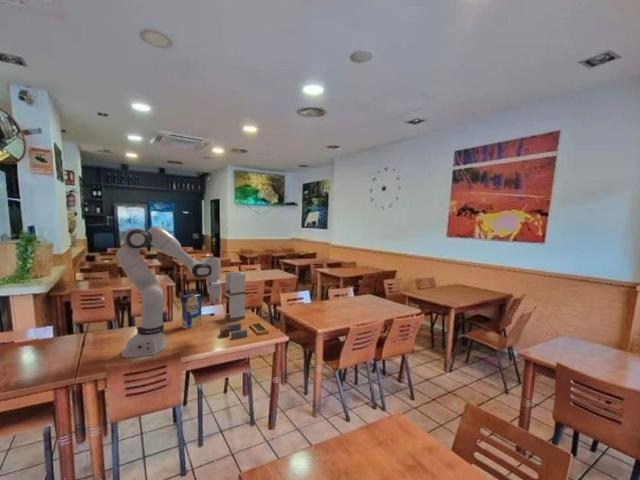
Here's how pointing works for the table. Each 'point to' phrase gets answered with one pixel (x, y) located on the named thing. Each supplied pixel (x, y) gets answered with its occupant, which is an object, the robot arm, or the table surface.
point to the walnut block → (224, 331)
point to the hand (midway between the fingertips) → (213, 302)
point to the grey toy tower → (235, 295)
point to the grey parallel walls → (237, 333)
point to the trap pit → (258, 328)
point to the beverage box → (191, 311)
